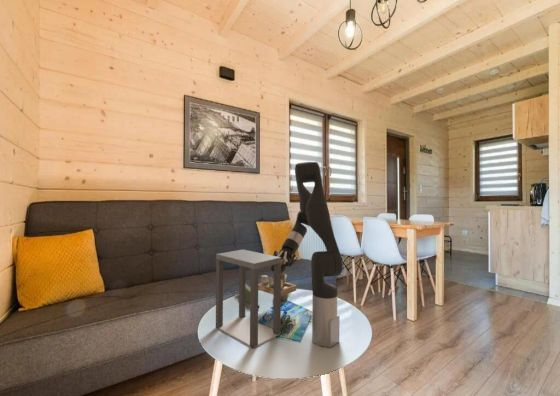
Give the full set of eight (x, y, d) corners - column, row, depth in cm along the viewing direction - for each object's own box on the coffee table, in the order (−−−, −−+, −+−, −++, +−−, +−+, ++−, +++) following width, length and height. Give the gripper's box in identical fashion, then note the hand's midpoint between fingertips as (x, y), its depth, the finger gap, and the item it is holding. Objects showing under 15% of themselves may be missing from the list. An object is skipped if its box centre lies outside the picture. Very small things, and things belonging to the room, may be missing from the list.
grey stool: (280, 334, 107) (281, 257, 107) (253, 348, 97) (254, 263, 97) (242, 316, 123) (242, 249, 123) (215, 327, 112) (216, 254, 112)
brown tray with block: (296, 290, 128) (296, 260, 128) (279, 296, 120) (279, 264, 120) (273, 284, 138) (273, 256, 138) (257, 289, 129) (257, 259, 129)
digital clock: (278, 291, 157) (278, 272, 157) (293, 292, 154) (293, 273, 154) (267, 301, 142) (267, 280, 141) (284, 303, 139) (284, 282, 138)
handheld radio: (244, 292, 154) (261, 309, 132) (238, 293, 152) (255, 310, 130) (244, 280, 154) (261, 295, 131) (238, 281, 152) (254, 296, 130)
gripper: (278, 236, 140) (261, 264, 131) (300, 239, 130) (283, 269, 121) (285, 245, 144) (269, 273, 135) (307, 249, 134) (291, 279, 125)
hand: (276, 271), depth 128 cm, fingers closed on brown tray with block, 4 cm apart
